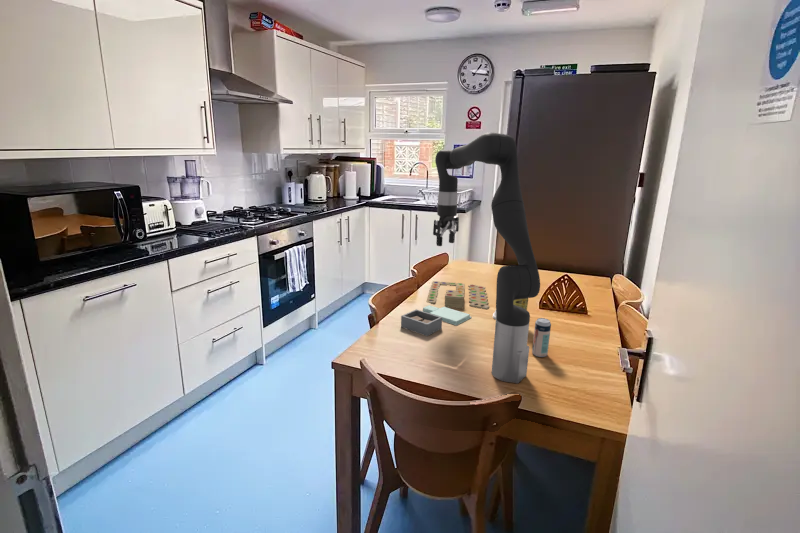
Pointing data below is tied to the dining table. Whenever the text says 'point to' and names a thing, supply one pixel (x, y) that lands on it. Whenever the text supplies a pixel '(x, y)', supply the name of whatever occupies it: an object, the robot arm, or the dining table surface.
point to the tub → (421, 326)
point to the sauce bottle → (521, 302)
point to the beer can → (541, 337)
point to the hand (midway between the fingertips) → (445, 244)
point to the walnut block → (417, 318)
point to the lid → (448, 314)
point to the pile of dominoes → (459, 295)
